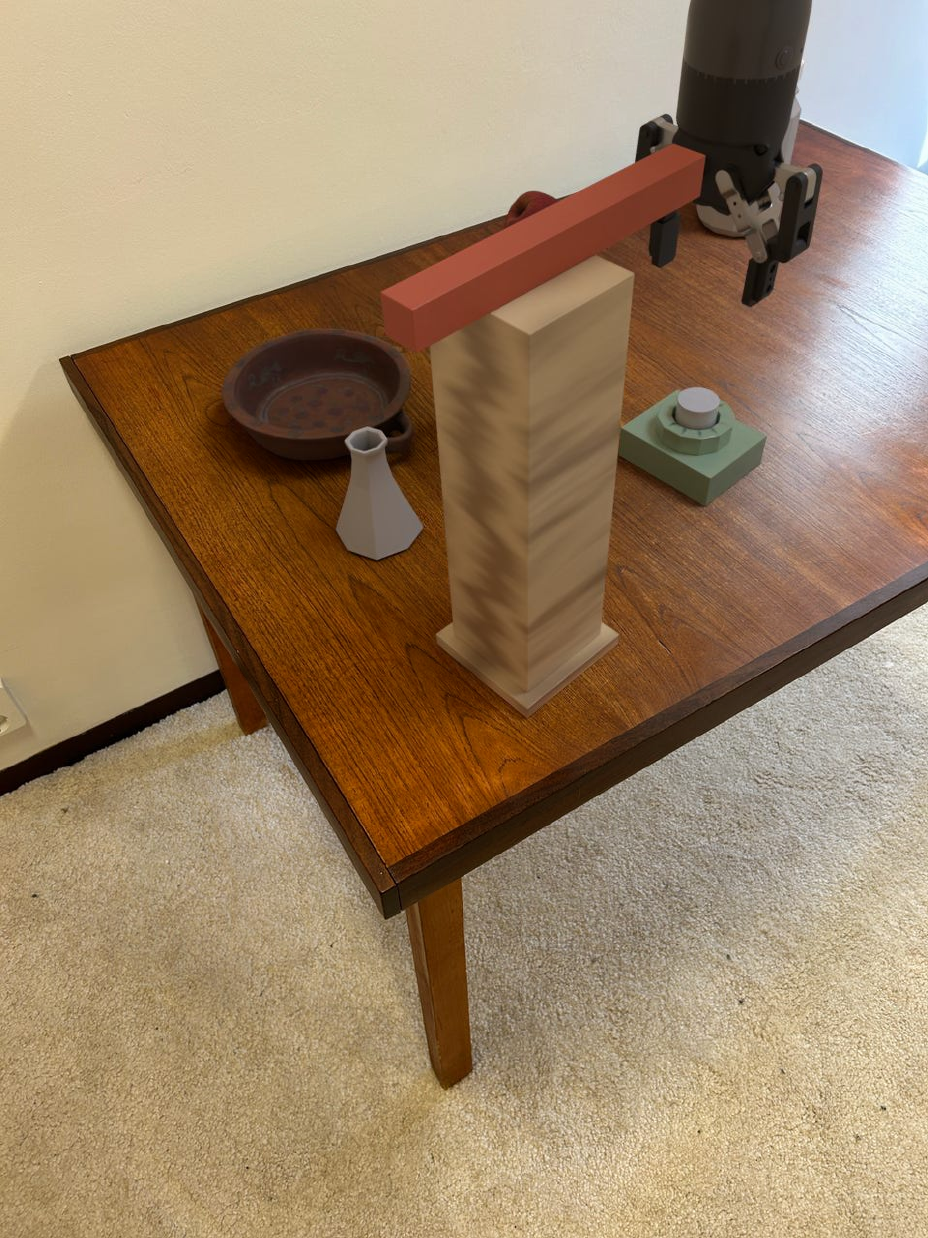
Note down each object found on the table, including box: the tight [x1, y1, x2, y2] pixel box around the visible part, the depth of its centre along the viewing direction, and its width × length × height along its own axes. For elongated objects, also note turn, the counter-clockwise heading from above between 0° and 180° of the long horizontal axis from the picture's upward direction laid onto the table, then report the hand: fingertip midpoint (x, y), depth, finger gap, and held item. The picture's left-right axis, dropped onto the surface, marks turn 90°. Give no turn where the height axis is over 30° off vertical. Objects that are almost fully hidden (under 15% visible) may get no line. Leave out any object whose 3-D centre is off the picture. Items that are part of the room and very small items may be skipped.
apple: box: [503, 190, 560, 230], centre depth 110 cm, size 7×8×8 cm
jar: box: [696, 58, 805, 238], centre depth 110 cm, size 10×10×18 cm
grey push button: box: [675, 386, 721, 430], centre depth 84 cm, size 4×4×2 cm
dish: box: [221, 328, 415, 461], centre depth 93 cm, size 18×22×5 cm
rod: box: [379, 144, 705, 354], centre depth 51 cm, size 2×22×2 cm, turn 133°
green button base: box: [617, 389, 768, 507], centre depth 86 cm, size 10×8×5 cm
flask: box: [335, 427, 424, 561], centre depth 80 cm, size 7×7×10 cm
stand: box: [429, 254, 636, 719], centre depth 63 cm, size 10×10×31 cm
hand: (706, 281), depth 74 cm, fingers open, 8 cm apart
